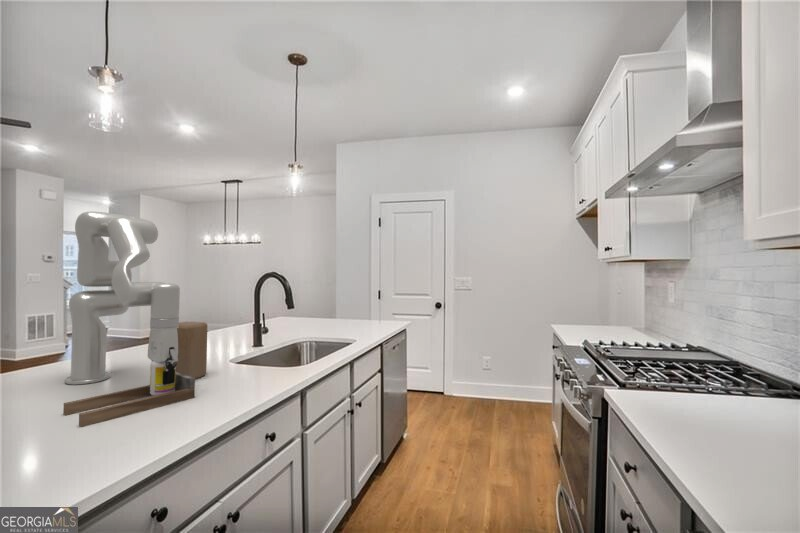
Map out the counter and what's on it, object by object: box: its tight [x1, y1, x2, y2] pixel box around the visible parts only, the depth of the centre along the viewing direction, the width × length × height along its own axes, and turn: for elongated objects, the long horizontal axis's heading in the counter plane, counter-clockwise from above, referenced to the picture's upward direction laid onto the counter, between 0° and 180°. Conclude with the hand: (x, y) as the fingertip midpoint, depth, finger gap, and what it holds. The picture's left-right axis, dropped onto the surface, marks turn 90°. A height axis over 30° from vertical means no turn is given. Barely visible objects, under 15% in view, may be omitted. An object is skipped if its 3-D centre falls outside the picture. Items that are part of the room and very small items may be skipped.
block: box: [176, 321, 208, 380], centre depth 139 cm, size 10×10×20 cm
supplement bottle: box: [149, 359, 176, 396], centre depth 117 cm, size 7×7×13 cm
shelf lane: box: [62, 372, 196, 428], centre depth 110 cm, size 14×28×6 cm, turn 145°
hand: (162, 380), depth 117 cm, fingers closed on supplement bottle, 6 cm apart
